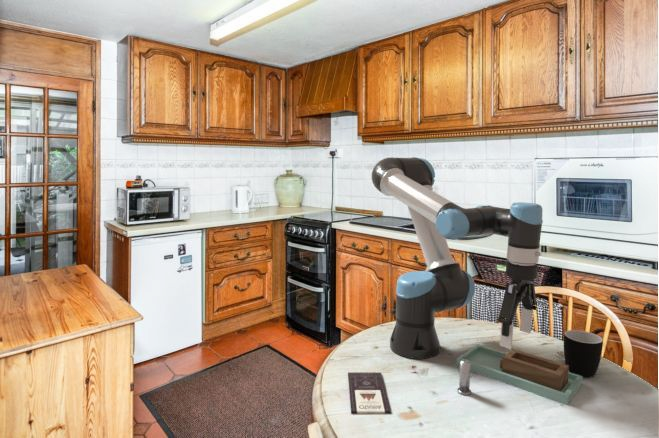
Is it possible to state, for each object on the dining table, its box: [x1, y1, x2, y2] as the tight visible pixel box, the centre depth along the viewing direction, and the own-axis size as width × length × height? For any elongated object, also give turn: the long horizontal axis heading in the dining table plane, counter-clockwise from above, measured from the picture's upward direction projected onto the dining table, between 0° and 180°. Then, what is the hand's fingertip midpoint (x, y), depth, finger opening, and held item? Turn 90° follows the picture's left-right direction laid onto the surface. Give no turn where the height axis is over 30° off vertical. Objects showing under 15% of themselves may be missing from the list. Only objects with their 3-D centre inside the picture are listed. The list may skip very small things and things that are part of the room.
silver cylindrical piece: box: [457, 359, 472, 396], centre depth 101 cm, size 3×3×8 cm
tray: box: [456, 343, 584, 406], centre depth 110 cm, size 28×13×2 cm, turn 45°
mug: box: [563, 329, 604, 378], centre depth 112 cm, size 12×9×10 cm
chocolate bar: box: [347, 371, 392, 415], centre depth 102 cm, size 9×1×18 cm
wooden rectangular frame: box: [500, 348, 569, 392], centre depth 107 cm, size 7×16×4 cm, turn 45°
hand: (515, 339), depth 110 cm, fingers open, 13 cm apart
